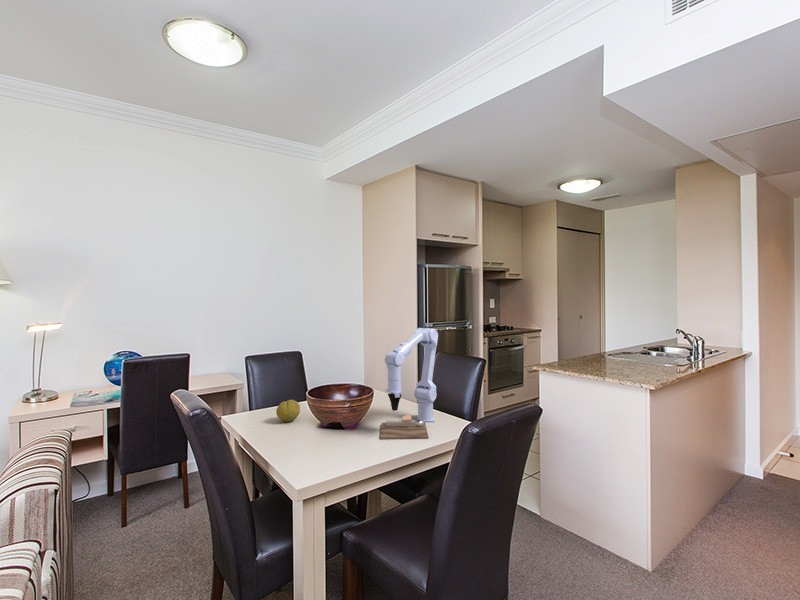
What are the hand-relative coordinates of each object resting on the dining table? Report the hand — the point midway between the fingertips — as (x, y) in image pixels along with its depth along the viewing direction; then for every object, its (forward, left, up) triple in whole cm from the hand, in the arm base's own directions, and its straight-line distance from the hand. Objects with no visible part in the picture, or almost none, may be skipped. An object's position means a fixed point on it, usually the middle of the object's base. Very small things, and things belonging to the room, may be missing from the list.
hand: (394, 410), depth 182 cm
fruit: (-18, -51, -10) cm, 55 cm away
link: (-4, +4, -8) cm, 10 cm away
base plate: (0, +4, -9) cm, 10 cm away
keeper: (-4, +8, -8) cm, 12 cm away
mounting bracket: (-8, -25, -10) cm, 29 cm away
